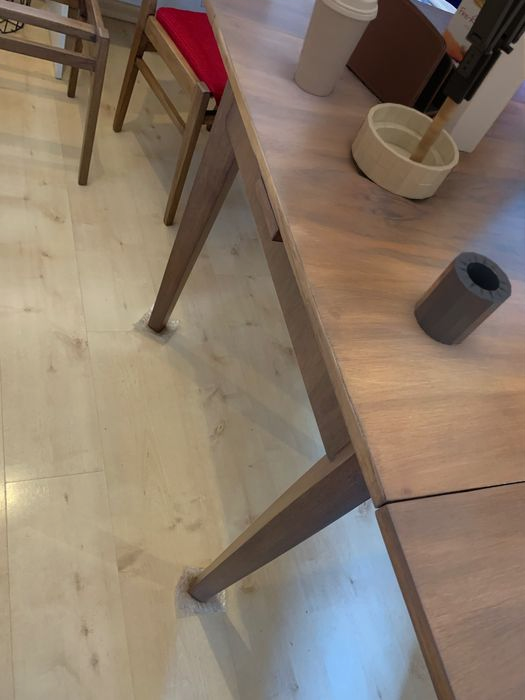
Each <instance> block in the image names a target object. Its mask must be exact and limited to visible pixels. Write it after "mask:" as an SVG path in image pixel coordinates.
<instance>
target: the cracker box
mask: <svg viewBox="0 0 525 700" xmlns="http://www.w3.org/2000/svg"><path fill="white" fill-rule="evenodd" d="M485 1H486V0H461V2H460V3H459V5H458V7H457V9H456V10H455V12H454V14H453V15H452V17H451V19H450V21H449V23H448V24H447V26H446V28H445V30H444V31H443V33H442V34H441V35H442V36H443V37H444V39H445V41H446V43H447V49H446V51H447V52H448V53H449V55H450V56H451V58H452V59H455V60H456V61H458V62H459V63H460V62H461V61H462V59H463V57H464V56H465V54H466V52H467V51H468V49H469V48H470V46H471V44H472V43H471V42H469V41H468V40H467V39H466V37H467V35H468V33H469V31H470V29H471V27H472V25H473V23H474V22H475V20H476V18H477V16H478V14H479V12H480V10H481V8H482V6H483V4H484V3H485Z"/></svg>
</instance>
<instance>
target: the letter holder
mask: <svg viewBox="0 0 525 700" xmlns="http://www.w3.org/2000/svg"><path fill="white" fill-rule="evenodd" d="M377 5H378V11H377V16H376V18H375V19H373V20H371V21H370V22H369V24H368V26H367V28H366V29H365V31H364V33H363V35H362V37H361V38H360V40H359V42H358V44H357V46H356V47H355V49H354V51H353V53H352V55H351V56H350V58H349V60H348V62H347V64H346V65H345V66H347V67H348V68H349V69H350V70H351V71H352V72H353V73H354V74H355V76H356V77H358V78H359V80H361V81H362V83H363V84H364V85H365V86H366V87H367V88H368V89H369V90H370V91H371V92H372V93H373V94H374V95H375V96H376V97H377V98H378V99H379V100H380V101H381V103H382V104H384V103H393V104H400V105H404V106H407V107H410V108H413V109H415V110H417V111H419V112H421V113H423V114H425V115H427V116H428V117H430V118H432V117H435V116H436V115H437V113H438V111H439V110H440V108H441V107H442V105H443V103H444V102H445V100H446V99H447V97H448V96H447V95H446V94H445V93H443V90H444V88H445V87H446V85H447V83H448V82H449V80H450V79H451V77H452V75H453V74H454V72H455V70H456V69H457V67H458V66H456V64H455V62H454V61H453V57H452V56H450V55H449V53H448V52H447V51H446V49H447V43H446V41H445V39H444V37H443V36H442V35H443V34H441V32H440V31H439V30H438V28H437V27H436V26H435V25H434V24H433V23H432V21H431V20H430V19H429V18H428V17H427V16H426V15H425V13H424V12H422V10H421V9H420V8H419V7H418V6H417V5H416V4H414V2H412V1H411V0H378V1H377Z"/></svg>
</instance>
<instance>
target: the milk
mask: <svg viewBox="0 0 525 700" xmlns="http://www.w3.org/2000/svg"><path fill="white" fill-rule="evenodd" d="M509 46H511V47H512V48H513V49H514V50H513V51H512V52H511V53H510V54H509V55H507V54H506V53H505V52H504V51H502V50H501V52H502V54H501V55H500V57H499V58H498V60H497V61H496V63H495V64H494V66H493V67H492V69H491V70H490V72H489V73H488V75H487V76H486V78H485V79H484V81H483V82H482V84H481V85H480V87H479V88H478V90H477V91H476V93H475V94H474V96H473V97H472V99H471V100H470V101H466V100H465V99H463V101H462V102H461V104H459V105H458V107H457V108H456V110H455V111H454V113H453V115H452V116H451V118H450V119H449V121H448V122H447V124H446V125H445V127H444V128H443V129H444V130H445V131H446V132H447V133H449V135H450V136H451V137H452V139H453V140H454V142H455V143H456V145H457V148H458V151H460V152H464V153H469V154H472V153H473V152H474V150H475V149H476V147H477V146H478V145H479V143H480V142H481V141H482V139H483V138H484V136H486V134H487V133H488V131H489V130H490V128H491V127H492V126H493V125H494V123H495V121H496V120H497V119H498V117H499V116H500V115H501V114H502V112H503V111H504V109H505V107H507V105H508V104H509V102H510V101H511V99H513V96H515V94H516V93H517V92H518V90H519V88H520V87H521V86H522V84H523V83H525V32H524V33H523V35H522V36H521V37H520V39H519V41H518V42H517V43H515V44H512V43H511V44H510V45H509Z"/></svg>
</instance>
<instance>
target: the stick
mask: <svg viewBox="0 0 525 700" xmlns="http://www.w3.org/2000/svg"><path fill="white" fill-rule="evenodd" d="M492 53H493V51H491V52H490V54H492ZM458 105H459V104H456V103H455V102H454V101H453V100H452V99H451V98H449V97H447V99H446V100H445V102H444V103H443V105H442V107H441V108H440V110H439V111H438V113H437V115H436V116H434V118H433V119H432V120H433V121H432V123H431V124H430V126H429V127H428V129H427V131H426V132H425V134H424V135H423V137H422V139H421V140H420V142H419V143H418V145H417V147H416V148H415V150H414V151H413V153H412V155H411V156H410V158H409V159H410V160H412V161H414V162H417V163H420V164H421V162H422V161H423V159H424V158H425V156H426V155H427V153H428V151H429V150H430V148H431V147H432V145H433V144H434V142H435V141H436V139H437V138H438V136H439V135H440V133H441V131H442V130H443V128H444V127H445V125H446V124H447V122H448V121H449V119H450V118H451V116H452V115H453V113H454V111H455V110H456V108H457V107H458Z"/></svg>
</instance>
